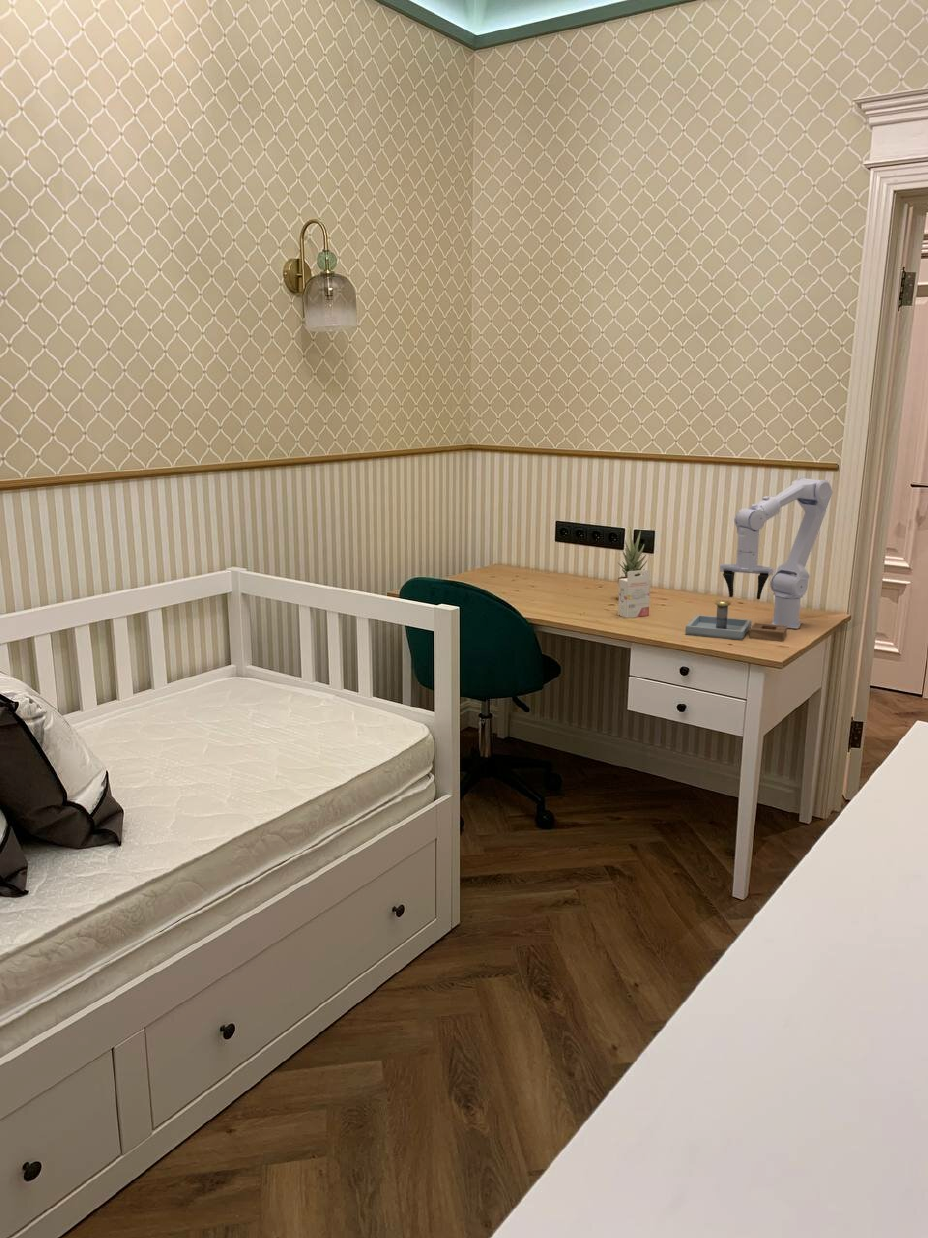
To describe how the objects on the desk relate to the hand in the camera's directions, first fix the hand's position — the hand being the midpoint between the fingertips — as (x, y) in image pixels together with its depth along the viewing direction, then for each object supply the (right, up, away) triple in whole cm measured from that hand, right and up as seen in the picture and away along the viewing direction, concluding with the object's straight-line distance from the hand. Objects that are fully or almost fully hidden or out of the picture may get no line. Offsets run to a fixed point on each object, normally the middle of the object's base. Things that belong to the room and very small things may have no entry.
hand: (744, 597), depth 280 cm
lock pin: (-6, -9, +3) cm, 11 cm away
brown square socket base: (+6, -11, -2) cm, 13 cm away
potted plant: (-25, 0, +47) cm, 53 cm away
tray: (-7, -10, +3) cm, 12 cm away
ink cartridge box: (-28, -5, +23) cm, 37 cm away
